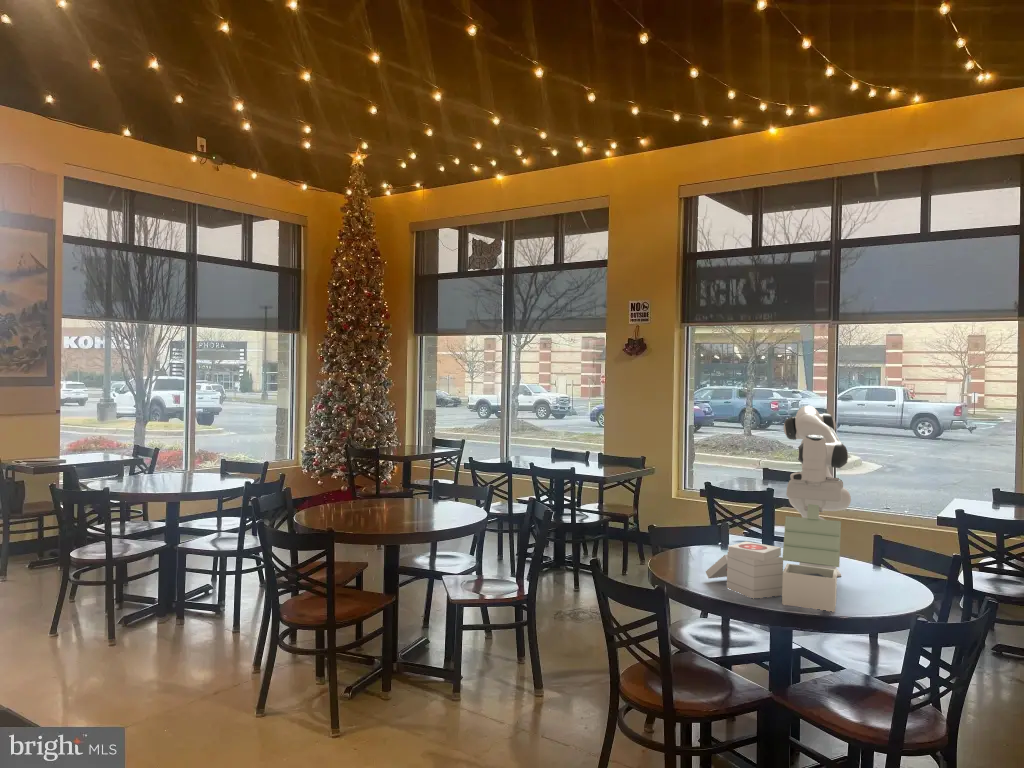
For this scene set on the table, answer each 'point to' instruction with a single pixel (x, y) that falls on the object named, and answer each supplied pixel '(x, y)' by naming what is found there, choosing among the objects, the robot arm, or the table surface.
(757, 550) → the pizza boxes
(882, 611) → the table surface
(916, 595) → the table surface
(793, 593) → the tub
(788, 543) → the lid
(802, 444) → the robot arm
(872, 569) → the table surface
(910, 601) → the table surface
